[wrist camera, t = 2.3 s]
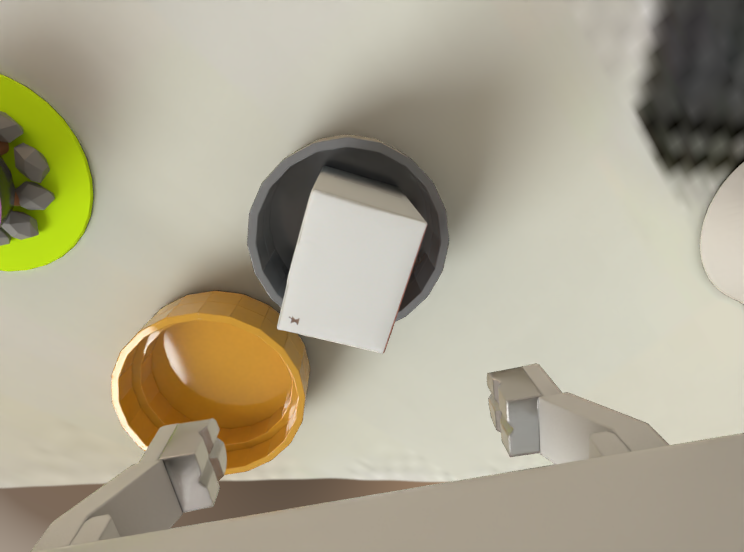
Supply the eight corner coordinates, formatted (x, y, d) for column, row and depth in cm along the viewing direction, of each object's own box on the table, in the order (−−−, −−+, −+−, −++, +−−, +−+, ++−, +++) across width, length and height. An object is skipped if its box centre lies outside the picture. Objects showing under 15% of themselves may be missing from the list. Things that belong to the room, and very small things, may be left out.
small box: (372, 279, 38) (384, 358, 25) (298, 260, 37) (272, 331, 24) (402, 185, 35) (430, 222, 23) (323, 162, 34) (308, 187, 22)
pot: (422, 121, 34) (437, 122, 28) (441, 287, 38) (457, 316, 33) (245, 150, 34) (224, 157, 28) (284, 312, 38) (273, 346, 33)
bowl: (290, 276, 37) (281, 298, 33) (323, 421, 42) (320, 459, 38) (115, 304, 38) (81, 331, 33) (169, 446, 42) (146, 487, 38)
